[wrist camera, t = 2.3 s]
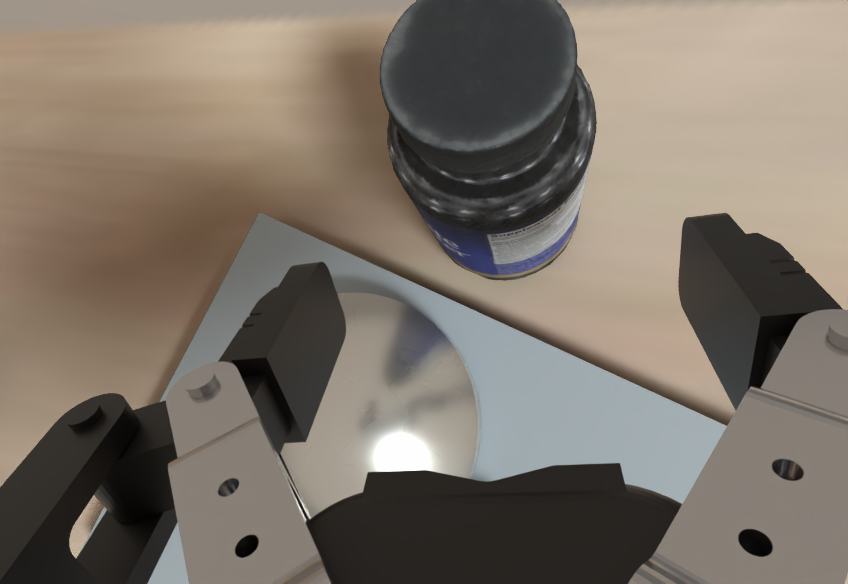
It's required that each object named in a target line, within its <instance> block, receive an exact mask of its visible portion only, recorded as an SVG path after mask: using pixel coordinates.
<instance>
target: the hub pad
mask: <svg viewBox="0 0 848 584" xmlns="http://www.w3.org/2000/svg"><path fill="white" fill-rule="evenodd" d="M337 295H338V298H339V301H340V304H341V307H342V309H343V312H344V316H345V321H346V336H345V340H344V343H343V345H342V348H341V351H340V353H339V356H338V358H337V361H336V364H335V366H334V369H333V372H332V374H331V377H330V380H329V382H328V385H327V388H326V390H325V393H324V395H323V398H322V401H321V403H320V406H319V409H318V411H317V414H316V417H315V419H314V422H313V425H312V427H311V430H310V432H309V435H308V438H307V440H306V442H298V443H285V444H284V446H283V448H282V451H281V455H282V457H283V459H284V461H285V463H286V465H287V467H288V469H289V471H290V473H291V476H292V478H293V480H294V482H295V484H296V486H297V489H298V491H299V493H300V495H301V497H302V499H303V501H304V504H305V506H306V508H307V510H308V512H309V514H310V516H311V518H312V517H314V516H315V515H316V514H318V513H319V512H321V511H322V510H324V509H326V508H327V507H329V506H330V505H332V504H334V503H336V502H338V501H340V500H342V499H345V498H347V497H350V496H352V495H355V494H358V493H361V492H363V490H364V485H365V481H366V477H367V473H368V472H384V471H411V470H428V471H433V472H438V473H443V474H448V475H453V476H458V477H463V478H468V479H471V477H472V475H473V472H474V470H475V467H476V462H477V458H478V454H479V450H480V442H481V433H482V429H481V409H480V402H479V396H478V392H477V389H476V385H475V381H474V379H473V376H472V374H471V371H470V369H469V367H468V364H467V363H466V361H465V359H464V357H463V356H462V354H461V352H460V351H459V349H458V348H457V347H456V345H455V344H454V343H453V341H452V340H451V339H450V337H449V336H448V335H447V334H446V333H445V332H444V331H443V330H442V329H441V328H440V327H439V326H437V325H436V324H435V323H433V322H432V321H431V320H429V319H428V318H427V317H426V316H424V315H423V314H421V313H420V312H418V311H417V310H415V309H413V308H411V307H410V306H408V305H406V304H404V303H402V302H399V301H397V300H394V299H391V298H389V297H385V296H380V295H376V294H370V293H359V292H355V293H339V294H337Z"/></svg>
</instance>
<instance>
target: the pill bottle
mask: <svg viewBox="0 0 848 584" xmlns="http://www.w3.org/2000/svg"><path fill="white" fill-rule="evenodd" d="M380 84H381V89H382V94H383V98H384V101H385V104H386V107H387V109H388V111H389V124H388V129H387V131H388V134H387V135H388V138H387V142H388V149H389V153H390V158H391V160H392V164H393V169H394V171H395V173H396V175H397V177H398V179H399V180H400V182H401V184H402V186H403V187H404V189H405V191H406V192H407V193H408V195H409V197H410V198H411V200H412V201H413V203H414V204H415V206H416V207H417V209H418V210H419V212H420V213H421V215H422V217H423V218H424V220H425V221H426V223H427V224H428V226H429V228H430V229H431V230H432V232H433V233H434V235H435V236H436V238H437V239H438V241H439V242H440V244H441V245H442V247H443V249H444V250H445V252H446V253H447V254H448V255H449V256H450V257H451V259H452V260H453V261H454V262H455V263H456V264H458V265H459V266H461V267H462V268H464V269H466V270H469V271H471V272H474V273H476V274H478V275H480V276H482V277H485V278H487V279H491V280H513V279H519V278H523V277H526V276H528V275H531V274H533V273H536V272H538V271H540V270H541V269H543V268H545V267H547V266H548V265H550V264H551V263H552V262H553V261H554V260H555V259H556V258H557V257H558V256H559V255H560V254H561V253H562V252H563V251H564V249H565V248H566V246H567V244H568V242H569V241H570V239H571V237H572V234H573V232H574V230H575V227H576V224H577V220H578V214H579V209H580V205H581V200H582V196H583V191H584V186H585V182H586V177H587V172H588V168H589V162H590V158H591V154H592V149H593V145H594V140H595V133H596V123H597V122H596V110H595V103H594V99H593V95H592V92H591V89H590V85H589V84H588V82H587V81H586V79H585V77H584V75H583V73H582V70H581V69H580V68H579V67H578V65H577V43H576V38H575V33H574V29H573V26H572V24H571V22H570V19H569V17H568V15H567V13H566V12H565V10H564V9H563V8H562V6H561V4H560V3H558V1H557V0H417V1H416V2H415V3H414V4H412V5H411V6H410V7H409V8H408V9H407V10H406V11H405V12H404V14H403V15H402V16H401V17H400V19H399V20H398V22H397V23H396V25H395V26H394V28H393V30H392V32H391V33H390V34H389V37H388V40H387V42H386V45H385V47H384V49H383V55H382V58H381V64H380Z"/></svg>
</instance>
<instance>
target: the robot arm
mask: <svg viewBox="0 0 848 584" xmlns="http://www.w3.org/2000/svg"><path fill="white" fill-rule="evenodd" d="M679 296H680V301H681V305H682V308H683V310H684V312H685V314H686V316H687V318H688V320H689V322H690V324H691V325H692V327H693V329H694V331H695V333H696V335H697V337H698V339H699V341H700V343H701V345H702V347H703V349H704V350H705V352H706V354H707V356H708V358H709V360H710V362H711V364H712V366H713V368H714V370H715V372H716V374H717V376H718V377H719V379H720V381H721V383H722V385H723V387H724V389H725V391H726V393H727V395H728V397H729V399H730V401H731V402H732V404H733V406H734V408H735V410H736V411H735V413H734V415H733V417H732V418H731V420H730V422H729V424H728V425H727V427H726V429H725V431H724V432H723V434H722V436H721V438H720V439H719V441H718V443H717V445H716V446H715V448H714V450H713V452H712V453H711V455H710V457H709V459H708V460H707V462H706V464H705V466H704V467H703V469H702V471H701V473H700V474H699V476H698V478H697V480H696V481H695V483H694V485H693V487H692V488H691V490H690V492H689V494H688V495H687V497H686V499H685V501H684V502H683V504H681V503H680V502H678V501H676V500H674V499H672V498H670V497H667V496H665V495H662V494H660V493H657V492H655V491H652V490H648V489H645V488H642V487H638V486H634V485H629V484H625V482H624V478H623V473H622V469H621V465H620V463H605V464H577V465H553V466H549V467H545V468H541V469H537V470H533V471H530V472H526V473H522V474H518V475H514V476H510V477H506V478H503V479H499V480H495V481H487V482H485V481H478V480H473V479H468V478H463V477H458V476H453V475H448V474H443V473H438V472H433V471H428V470H411V471H384V472H368V473H367V477H366V481H365V485H364V490H363V492H361V493H358V494H355V495H352V496H350V497H347V498H345V499H342V500H340V501H338V502H336V503H334V504H332V505H330V506H329V507H327V508H326V509H324V510H322V511H321V512H319V513H318V514H316V515H315V516H314V517H312V518H311V516H310V514H309V512H308V510H307V508H306V506H305V504H304V501H303V499H302V497H301V495H300V493H299V491H298V489H297V486H296V484H295V482H294V480H293V478H292V476H291V473H290V471H289V469H288V467H287V465H286V463H285V461H284V459H283V457H282V455H281V451H282V448H283V446H284V444H285V443H298V442H306V440H307V438H308V435H309V432H310V430H311V427H312V425H313V422H314V419H315V417H316V414H317V411H318V409H319V406H320V403H321V401H322V398H323V395H324V393H325V390H326V388H327V385H328V382H329V380H330V377H331V374H332V372H333V369H334V366H335V364H336V361H337V358H338V356H339V353H340V351H341V348H342V345H343V343H344V340H345V336H346V321H345V316H344V312H343V309H342V307H341V304H340V301H339V298H338V295H337V292H336V289H335V286H334V283H333V280H332V277H331V274H330V272H329V269H328V267H327V265H326V264H325V263H324V262H315V263H307V264H299V265H293V266H291V267H290V269H289V270H288V272H287V273H286V275H285V276H284V278H283V280H282V281H281V283H280V284H279V286H278V287H274V288H273V289H272V290H270V291H269V292H268V293H267V294H266V295H264V296H263V297H262V298H261V299H259V300H258V302H257V303H256V305H255V306H254V308H253V309H252V311H251V312H250V314H249V315H250V317H247V318H246V320H245V321H244V323H243V324H242V328H240V329H239V330H238V332H237V333H236V335H235V336H234V338H233V339H232V341H231V342H230V344H229V345H228V347H227V348H226V350H225V351H224V353H223V355H222V356H221V358H220V359H219V361H218V362H213V363H209V364H206V365H203V366H200V367H198V368H196V369H194V370H192V371H190V372H189V373H187V374H185V375H184V376H183V377H181V378H180V379H179V380H178V381H177V382H176V383H175V384H174V385H173V386H172V387H171V389H170V390H169V392H168V394H167V397H166V400H165V401H162V402H159V403H156V404H152V405H149V406H146V407H143V408H139V409H136V410H132V408H131V407H130V406H129V404H128V403H127V401H126V400H125V398H124V397H123V396H122V395H120V394H115V393H109V394H103V395H99V396H96V397H93V398H90V399H88V400H86V401H84V402H82V403H80V404H78V405H77V406H75V407H74V408H72V409H71V410H69V411H68V412H67V413H65V414H64V415H63V416H62V417H61V418H60V419H59V420H58V421H57V422H56V423H55V424H54V425H53V426H52V428H51V429H50V430H49V431H48V432H47V433H46V435H45V436H44V437H43V438H42V439H41V440H40V442H39V443H38V444H37V445H36V446H35V447H34V449H33V450H32V451H31V452H30V453H29V454H28V456H27V457H26V458H25V459H24V460H23V461H22V463H21V464H20V465H19V466H18V467H17V469H16V470H15V471H14V472H13V473H12V474H11V476H10V477H9V478H8V479H7V480H6V481H5V483H4V484H3V485H2V486H1V487H0V584H148V582H149V579H150V577H151V575H152V573H153V571H154V569H155V567H156V565H157V563H158V561H159V559H160V557H161V555H162V553H163V551H164V549H165V547H166V545H167V543H168V541H169V539H170V537H171V535H172V533H173V531H174V528H175V526H176V524H177V522H178V527H179V532H180V537H181V543H182V548H183V554H184V559H185V565H186V570H187V575H188V581H189V584H844V583H845V580H846V576H847V573H848V310H843V309H842V308H841V307H840V305H839V304H838V303H837V302H836V301H835V300H834V299H833V298H832V297H831V296H830V295H829V294H828V293H827V292H826V291H825V290H824V289H823V288H822V287H821V286H820V285H819V284H818V283H817V282H816V280H815V279H814V278H813V277H812V276H811V275H810V274H809V273H806V272H805V269H804V268H803V267H802V266H801V265H800V264H799V263H798V262H797V261H794V258H793V256H792V255H791V254H790V253H789V252H788V251H787V250H786V249H785V248H784V247H783V246H782V245H781V244H780V243H778V242H775V241H773V240H771V239H769V238H767V237H765V236H763V235H761V234H759V233H752V234H745V233H744V232H743V230H742V229H741V228H740V227H739V226H738V225H737V224H736V222H735V221H734V220H733V219H732V218H731V217H730V216H729V215H728V214H727V213H720V214H712V215H704V216H696V217H688V218H686V219H685V220H684V223H683V228H682V240H681V254H680V268H679ZM93 495H95V496H96V498H97V499H98V500H99V501H100V502H101V503H102V505H103V506H104V507H105V508H106V509H107V511H106V512H105V514H104V515H103V517H102V519H101V520H100V522H99V523H98V525H97V527H96V528H95V530H94V531H93V533H92V535H91V536H90V538H89V539H88V541H87V542H86V544H85V546H84V547H83V549H82V550H81V552H80V554H79V555H78V557H77V558H75V557H74V556H73V555H72V553H71V551H70V547H69V538H70V533H71V530H72V527H73V525H74V524H75V522H76V520H77V519H78V517H79V516H80V514H81V513H82V511H83V510H84V509H85V507H86V506H87V504H88V503H89V501H90V500H91V498H92V497H93Z"/></svg>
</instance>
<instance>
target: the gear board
mask: <svg viewBox="0 0 848 584" xmlns="http://www.w3.org/2000/svg"><path fill="white" fill-rule="evenodd" d="M315 262H324V263H325V264H326V265H327V267H328V269H329V272H330V274H331V277H332V280H333V283H334V286H335V289H336V292H337V294H339V293H355V292H359V293H370V294H376V295H380V296H385V297H389V298H391V299H394V300H397V301H399V302H402V303H404V304H406V305H408V306H410V307H411V308H413V309H415V310H417V311H418V312H420V313H421V314H423V315H424V316H426V317H427V318H428V319H429V320H431V321H432V322H433V323H435V324H436V325H437V326H439V327H440V328H441V329H442V330H443V331H444V332H445V333H446V334H447V335H448V336H449V337H450V339H451V340H452V341H453V343H454V344H455V345H456V347H457V348H458V349H459V351H460V352H461V354H462V356H463V357H464V359H465V361H466V363H467V364H468V367H469V369H470V371H471V374H472V376H473V379H474V381H475V385H476V389H477V392H478V396H479V402H480V409H481V429H482V433H481V442H480V450H479V454H478V458H477V462H476V467H475V470H474V472H473V475H472V477H471V479H473V480H478V481H485V482H487V481H495V480H499V479H503V478H506V477H510V476H514V475H518V474H522V473H526V472H530V471H533V470H537V469H541V468H545V467H549V466H553V465H577V464H605V463H620V465H621V469H622V473H623V478H624V482H625V484H629V485H634V486H638V487H642V488H645V489H648V490H652V491H655V492H657V493H660V494H662V495H665V496H667V497H670V498H672V499H674V500H676V501H678V502H680V503H681V504H683V502H684V501H685V499H686V497H687V495H688V494H689V492H690V490H691V488H692V487H693V485H694V483H695V481H696V480H697V478H698V476H699V474H700V473H701V471H702V469H703V467H704V466H705V464H706V462H707V460H708V459H709V457H710V455H711V453H712V452H713V450H714V448H715V446H716V445H717V443H718V441H719V439H720V438H721V436H722V434H723V432H724V431H725V429H726V427H727V426H726V425H724V424H721V423H719V422H717V421H715V420H713V419H711V418H708V417H706V416H704V415H702V414H700V413H697V412H695V411H693V410H691V409H689V408H686V407H684V406H682V405H680V404H678V403H676V402H673V401H671V400H669V399H667V398H665V397H662V396H660V395H658V394H656V393H654V392H652V391H649V390H647V389H645V388H643V387H641V386H638V385H636V384H634V383H632V382H630V381H627V380H625V379H623V378H621V377H619V376H617V375H614V374H612V373H610V372H608V371H606V370H603V369H601V368H599V367H597V366H595V365H593V364H590V363H588V362H586V361H584V360H582V359H579V358H577V357H575V356H573V355H571V354H568V353H566V352H564V351H562V350H560V349H558V348H555V347H553V346H551V345H549V344H547V343H544V342H542V341H540V340H538V339H536V338H534V337H531V336H529V335H527V334H525V333H523V332H520V331H518V330H516V329H514V328H512V327H509V326H507V325H505V324H503V323H501V322H499V321H496V320H494V319H492V318H490V317H488V316H485V315H483V314H481V313H479V312H477V311H475V310H472V309H470V308H468V307H466V306H464V305H461V304H459V303H457V302H455V301H453V300H450V299H448V298H446V297H444V296H442V295H440V294H437V293H435V292H433V291H431V290H429V289H426V288H424V287H422V286H420V285H418V284H416V283H413V282H411V281H409V280H407V279H405V278H402V277H400V276H398V275H396V274H394V273H391V272H389V271H387V270H385V269H383V268H381V267H378V266H376V265H374V264H372V263H370V262H367V261H365V260H363V259H361V258H359V257H357V256H354V255H352V254H350V253H348V252H346V251H343V250H341V249H339V248H337V247H335V246H332V245H330V244H328V243H326V242H324V241H322V240H319V239H317V238H315V237H313V236H311V235H308V234H306V233H304V232H302V231H300V230H298V229H295V228H293V227H291V226H289V225H287V224H284V223H282V222H280V221H278V220H276V219H273V218H271V217H269V216H267V215H265V214H263V213H260V212H259V214H258V216H257V218H256V220H255V222H254V224H253V225H252V227H251V229H250V231H249V233H248V235H247V237H246V239H245V241H244V242H243V244H242V246H241V248H240V250H239V252H238V254H237V256H236V258H235V260H234V261H233V263H232V265H231V267H230V269H229V271H228V273H227V275H226V277H225V279H224V280H223V282H222V284H221V286H220V288H219V290H218V292H217V294H216V296H215V297H214V299H213V301H212V303H211V305H210V307H209V309H208V311H207V313H206V315H205V316H204V318H203V320H202V322H201V324H200V326H199V328H198V330H197V332H196V333H195V335H194V337H193V339H192V341H191V343H190V345H189V347H188V349H187V351H186V352H185V354H184V356H183V358H182V360H181V362H180V364H179V366H178V368H177V370H176V371H175V373H174V375H173V377H172V379H171V381H170V383H169V385H168V387H167V388H166V390H165V392H164V394H163V396H162V398H161V400H160V402H162V401H165V400H166V397H167V394H168V392H169V390H170V389H171V387H172V386H173V385H174V384H175V383H176V382H177V381H178V380H179V379H180V378H181V377H183V376H184V375H185V374H187V373H189V372H190V371H192V370H194V369H196V368H198V367H200V366H203V365H206V364H209V363H213V362H218V361H219V359H220V358H221V356H222V355H223V353H224V351H225V350H226V348H227V347H228V345H229V344H230V342H231V341H232V339H233V338H234V336H235V335H236V333H237V332H238V330H239V329H240V328H242V324H243V323H244V321H245V320H246V318H247V317H250V315H249V314H250V312H251V311H252V309H253V308H254V306H255V305H256V303H257V302H258V300H259V299H261V298H262V297H263V296H264V295H266V294H267V293H268V292H269V291H270V290H272V289H273V288H274V287H278V286H279V284H280V283H281V281H282V280H283V278H284V276H285V275H286V273H287V272H288V270H289V269H290V267H291V266H293V265H299V264H307V263H315ZM106 511H107V509H106V508H105V507H104V508H103V510H102V512H101V514H100V516H99V517H98V519H97V521H96V523H95V525H94V527H93V529H92V531H91V533H90V534H89V536H88V538H87V540H86V542H87V541H88V539H89V538H90V536H91V535H92V533H93V531H94V530H95V528H96V527H97V525H98V523H99V522H100V520H101V519H102V517H103V515H104V514H105V512H106ZM86 542H85V544H86ZM85 544H84V546H85ZM84 546H83V547H84ZM82 549H83V548H82ZM79 554H80V553H79ZM148 584H189V581H188V575H187V570H186V565H185V559H184V554H183V548H182V543H181V537H180V532H179V527H178V522H177V524H176V526H175V528H174V531H173V533H172V535H171V537H170V539H169V541H168V543H167V545H166V547H165V549H164V551H163V553H162V555H161V557H160V559H159V561H158V563H157V565H156V567H155V569H154V571H153V573H152V575H151V577H150V579H149V582H148Z"/></svg>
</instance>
